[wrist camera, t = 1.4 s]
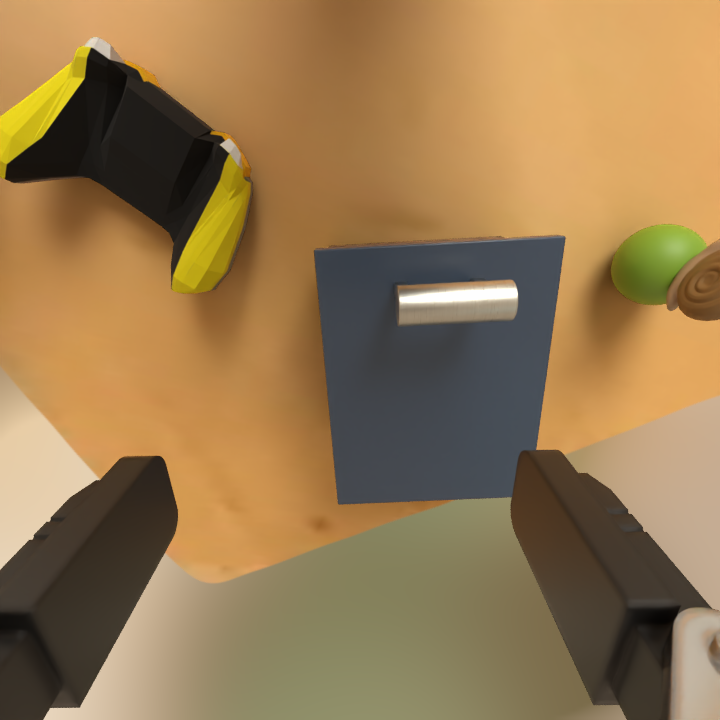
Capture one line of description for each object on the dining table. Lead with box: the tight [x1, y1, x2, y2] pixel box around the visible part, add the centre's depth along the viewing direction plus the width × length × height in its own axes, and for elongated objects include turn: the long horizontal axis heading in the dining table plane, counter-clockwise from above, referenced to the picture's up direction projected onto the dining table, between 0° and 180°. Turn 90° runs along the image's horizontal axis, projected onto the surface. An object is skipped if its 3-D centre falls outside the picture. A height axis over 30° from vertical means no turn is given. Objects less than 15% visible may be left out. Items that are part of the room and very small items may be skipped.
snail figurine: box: [611, 224, 720, 321], centre depth 24 cm, size 5×6×12 cm
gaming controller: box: [0, 37, 253, 294], centre depth 25 cm, size 15×6×10 cm
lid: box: [314, 235, 565, 504], centre depth 21 cm, size 17×13×5 cm
